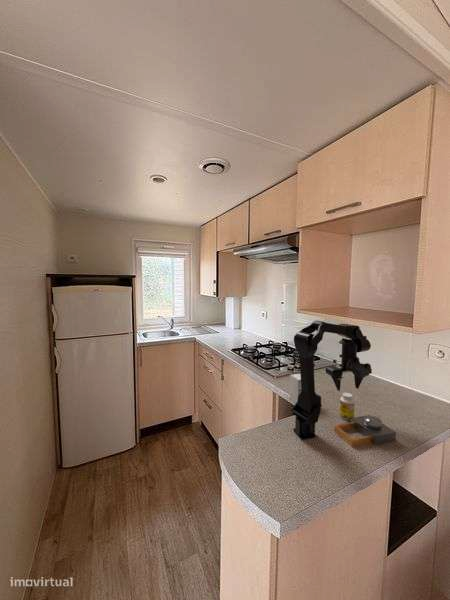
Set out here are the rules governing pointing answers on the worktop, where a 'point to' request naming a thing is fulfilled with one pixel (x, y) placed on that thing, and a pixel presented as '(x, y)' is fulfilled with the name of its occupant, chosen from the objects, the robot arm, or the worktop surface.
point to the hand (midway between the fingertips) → (347, 389)
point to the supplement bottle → (347, 406)
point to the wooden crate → (366, 431)
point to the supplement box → (295, 387)
